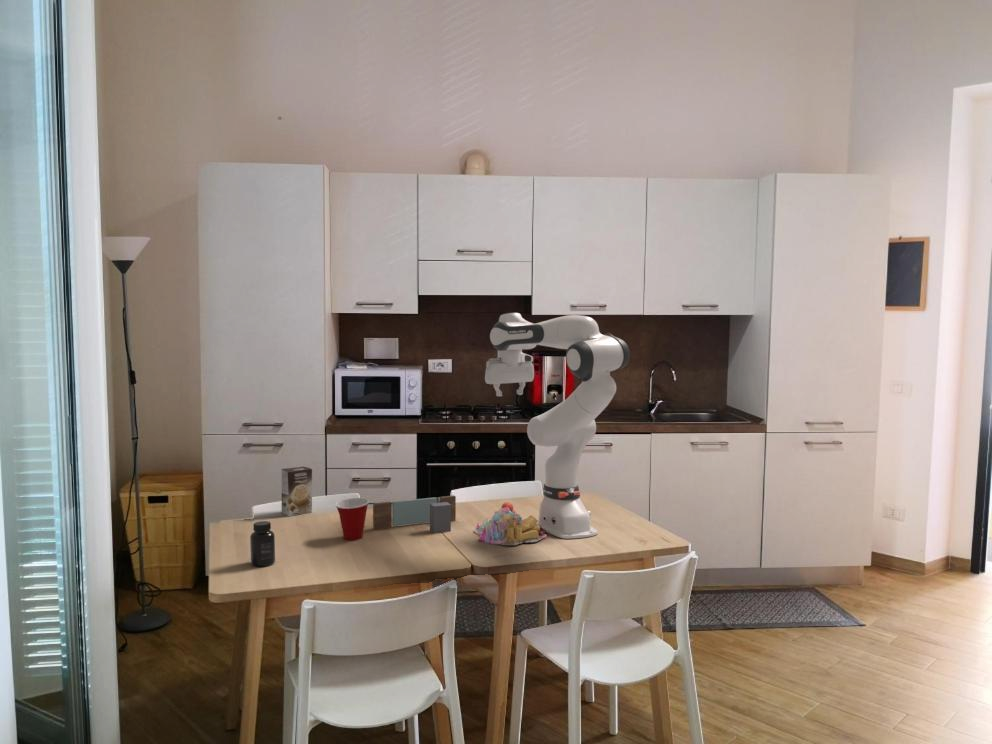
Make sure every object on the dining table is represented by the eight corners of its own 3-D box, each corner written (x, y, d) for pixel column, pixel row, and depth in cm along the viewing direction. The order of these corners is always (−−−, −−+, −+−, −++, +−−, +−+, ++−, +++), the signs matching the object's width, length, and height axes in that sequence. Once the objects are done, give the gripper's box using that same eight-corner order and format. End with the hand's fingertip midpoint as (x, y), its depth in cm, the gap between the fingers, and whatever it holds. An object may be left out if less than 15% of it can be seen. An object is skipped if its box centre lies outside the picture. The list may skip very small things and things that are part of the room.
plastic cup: (332, 534, 262) (331, 498, 261) (365, 531, 266) (364, 495, 265) (338, 544, 252) (338, 506, 251) (372, 540, 256) (372, 503, 255)
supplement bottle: (277, 559, 237) (277, 519, 236) (272, 567, 230) (271, 526, 229) (254, 559, 237) (253, 519, 236) (247, 567, 230) (247, 526, 229)
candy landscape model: (560, 537, 263) (561, 509, 263) (510, 552, 247) (510, 523, 246) (506, 521, 281) (507, 495, 280) (456, 534, 265) (456, 507, 264)
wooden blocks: (455, 520, 280) (455, 496, 280) (374, 529, 269) (374, 504, 268) (453, 519, 282) (454, 495, 281) (373, 528, 270) (373, 503, 269)
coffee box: (289, 516, 283) (288, 472, 282) (281, 513, 288) (280, 468, 287) (312, 512, 289) (312, 468, 288) (304, 508, 294) (304, 465, 292)
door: (440, 520, 278) (440, 497, 278) (393, 526, 272) (393, 502, 271) (439, 520, 279) (439, 497, 279) (392, 525, 272) (392, 501, 272)
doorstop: (450, 531, 268) (450, 504, 267) (433, 533, 265) (433, 506, 265) (446, 528, 271) (446, 501, 271) (429, 530, 269) (429, 503, 268)
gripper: (491, 358, 283) (491, 397, 285) (536, 356, 296) (536, 394, 297) (481, 357, 289) (481, 396, 290) (526, 356, 301) (525, 392, 302)
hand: (509, 395), depth 293 cm, fingers open, 8 cm apart
